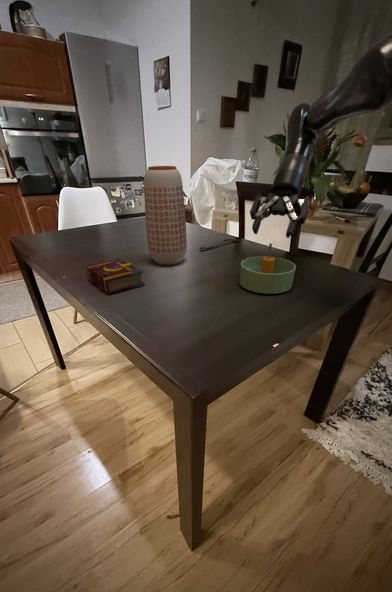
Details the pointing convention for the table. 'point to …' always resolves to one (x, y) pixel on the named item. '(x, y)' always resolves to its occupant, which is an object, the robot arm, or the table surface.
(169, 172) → the patterned ceramic vase
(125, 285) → the decorative book
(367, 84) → the robot arm
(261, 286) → the green round bowl
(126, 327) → the table surface
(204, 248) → the tomahawk
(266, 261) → the screwdriver
